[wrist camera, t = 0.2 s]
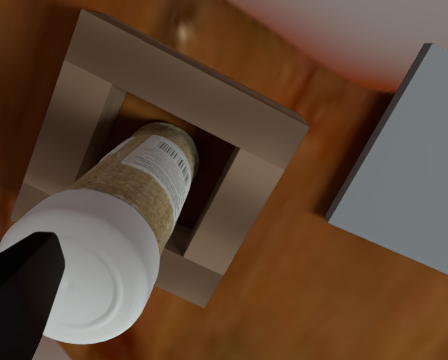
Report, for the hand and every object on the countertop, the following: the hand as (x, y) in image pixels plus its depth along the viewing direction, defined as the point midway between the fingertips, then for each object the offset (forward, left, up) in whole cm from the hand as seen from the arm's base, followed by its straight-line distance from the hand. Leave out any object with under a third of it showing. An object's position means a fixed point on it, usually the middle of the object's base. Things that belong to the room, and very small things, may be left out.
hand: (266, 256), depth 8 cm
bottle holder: (-5, +2, -15) cm, 16 cm away
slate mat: (+6, -11, -15) cm, 20 cm away
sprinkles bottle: (-5, +2, -16) cm, 17 cm away
